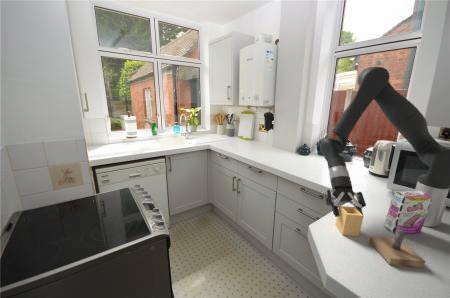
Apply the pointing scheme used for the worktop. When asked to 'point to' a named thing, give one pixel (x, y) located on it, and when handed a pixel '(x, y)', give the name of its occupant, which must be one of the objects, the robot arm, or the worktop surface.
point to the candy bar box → (407, 211)
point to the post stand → (396, 251)
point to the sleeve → (349, 221)
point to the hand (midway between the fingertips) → (348, 217)
